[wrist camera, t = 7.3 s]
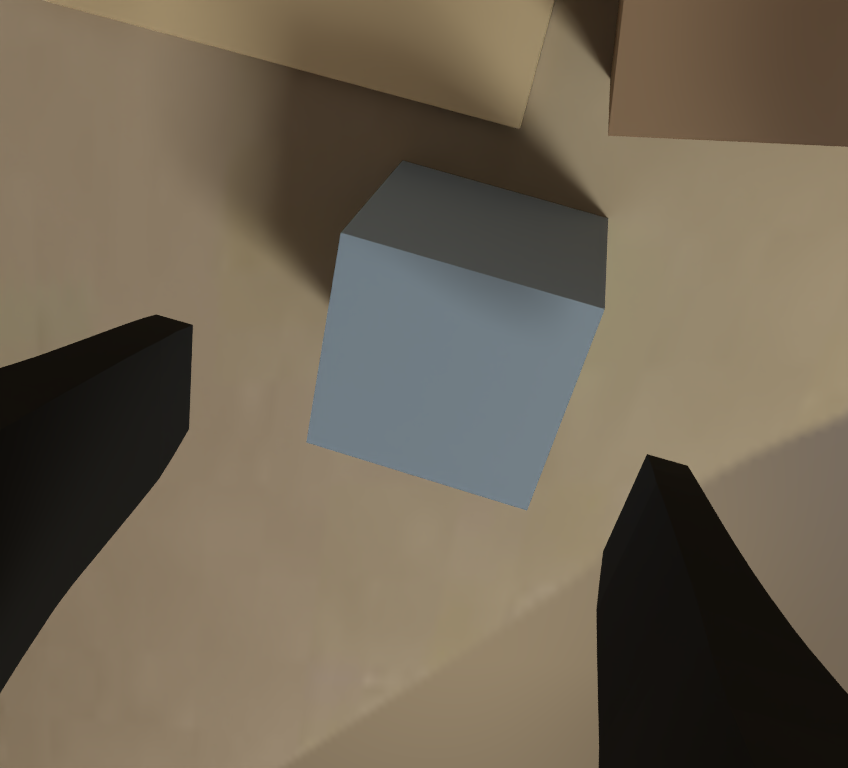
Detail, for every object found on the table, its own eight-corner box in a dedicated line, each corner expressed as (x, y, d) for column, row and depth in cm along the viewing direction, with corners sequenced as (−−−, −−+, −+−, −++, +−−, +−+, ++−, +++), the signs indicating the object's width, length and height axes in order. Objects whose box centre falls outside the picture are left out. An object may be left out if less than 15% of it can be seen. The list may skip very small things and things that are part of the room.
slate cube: (367, 337, 21) (306, 442, 17) (403, 159, 19) (340, 232, 14) (545, 390, 21) (527, 510, 17) (607, 217, 18) (604, 308, 14)
